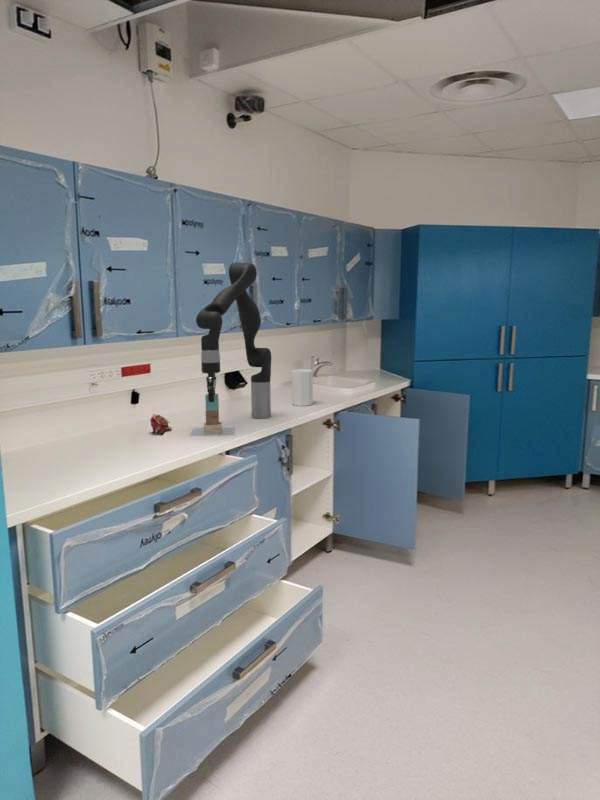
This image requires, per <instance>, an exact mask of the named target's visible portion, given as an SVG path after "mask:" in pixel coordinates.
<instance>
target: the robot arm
mask: <svg viewBox="0 0 600 800" xmlns="http://www.w3.org/2000/svg"><path fill="white" fill-rule="evenodd" d="M257 273H258V272H257V268H256V265H255V264H253V263H249V262H232V263H230V265H229V267H228V278H229V281H230V285H229V286H227V287H225V288H224V289H222V290H220V291H219V292H218V293H217V295H216V296H215V297H214V299H213V300H212V301H211V302H210V303H209V304H207V305H206V306H205V307H204V308H202V309H201V310H200V311H199V312H198V314H197V315H196V318H195V319H196V320H195V323H196V325H197V327H198V328H200V329H203V330H208V334H205V335H203V336H201V339H200V341H201V343H200V345H201V347H200V348H201V355H200V356H201V357H200V358H201V360H200V361H201V373H203V374H207V376H206V377H205V382H206V392H207V394H208V398H209V402H214V394H216V386H217V376H216V374H219V373H220V372H221V354H220V343H219V342H220V341H219V340H220V335H221V331H222V327H223V318H222V316H223V315H225V314H226V313H227V311H228V310H229V309H230V307H231V306H232V304H234V302H235V301H236V306H237V309H238V310H237V311H238V315H239V320H240V321H239V322H240V325H241V329H242V334H243V339H244V345H245V353H246V354H245V355H246V361H247V364H248V365H249V367H252V368H261V370H260V372H258V373H255V374H252V375H251V377H250V392H251V393H250V394H251V397H250V399H251V418H253V419H268V418H271V417H272V414H271V413H272V409H271V407H272V405H271V404H272V401H271V400H272V397H271V396H272V395H271V393H272V392H271V375H272V352H271V350H270V348H268V347H256V345H255V339H256V336H257V334H258V331H259V330H260V327H261V325H262V319H261V313H260V310H259V307H258V306H257V304H256V303H255V301H254V300H253V298H252V297H251V296H250V295H249V293H248V292H247V289H248V288H250V287H251V285H253V284H254V282H255V281H256V279H257Z"/></svg>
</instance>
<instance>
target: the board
mask: <svg viewBox="0 0 600 800" xmlns="http://www.w3.org/2000/svg"><path fill="white" fill-rule="evenodd" d="M235 431H236V427H233V426H232V427H222V432H221V434H210V435H204V427H202V428H201V427H199V428H198V427H197V428H196V427H195V428H194V427H193V428H192V430H191V432H190V434H189V436H190V437H197V436H198V437H201V436H203V437H205V436H206V437H207V436H235Z"/></svg>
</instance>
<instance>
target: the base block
mask: <svg viewBox="0 0 600 800" xmlns="http://www.w3.org/2000/svg"><path fill="white" fill-rule="evenodd" d="M222 425H223V424H222V421H219V424H218V425H206V421H204V423H203V428H204V435H208V436H211V435H210V434H221V432H222V428H223V426H222Z"/></svg>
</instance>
